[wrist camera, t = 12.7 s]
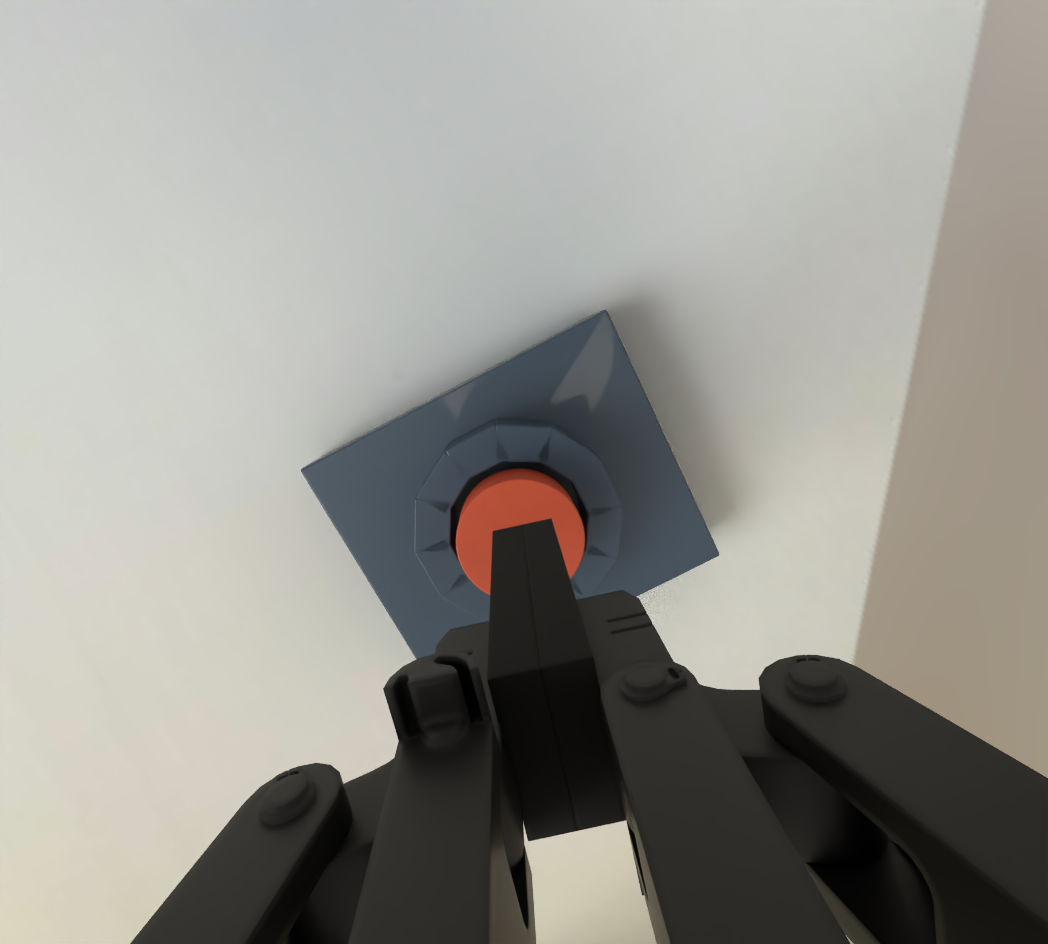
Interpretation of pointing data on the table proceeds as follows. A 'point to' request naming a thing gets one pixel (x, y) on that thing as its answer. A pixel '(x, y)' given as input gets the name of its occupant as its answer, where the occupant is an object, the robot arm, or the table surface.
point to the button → (515, 519)
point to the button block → (504, 443)
